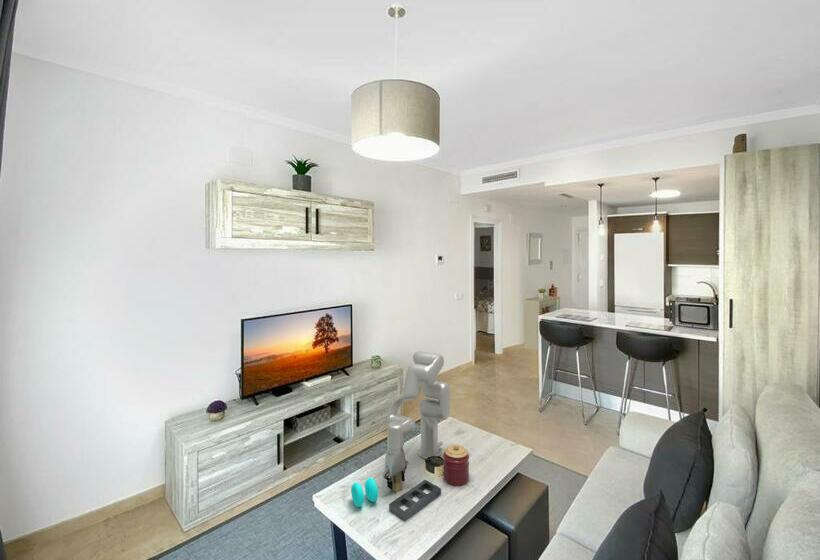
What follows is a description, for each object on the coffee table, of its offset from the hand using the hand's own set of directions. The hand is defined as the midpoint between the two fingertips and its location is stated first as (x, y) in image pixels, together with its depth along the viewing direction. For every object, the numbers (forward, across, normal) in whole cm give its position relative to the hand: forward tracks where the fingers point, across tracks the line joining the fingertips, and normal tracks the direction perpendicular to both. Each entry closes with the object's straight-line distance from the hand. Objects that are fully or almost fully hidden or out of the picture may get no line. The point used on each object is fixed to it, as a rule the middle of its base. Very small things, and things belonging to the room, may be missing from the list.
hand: (395, 484), depth 177 cm
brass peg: (+3, 0, 0) cm, 3 cm away
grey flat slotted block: (+3, 0, +13) cm, 13 cm away
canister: (+3, -27, +16) cm, 31 cm away
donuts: (+3, +16, -4) cm, 17 cm away
